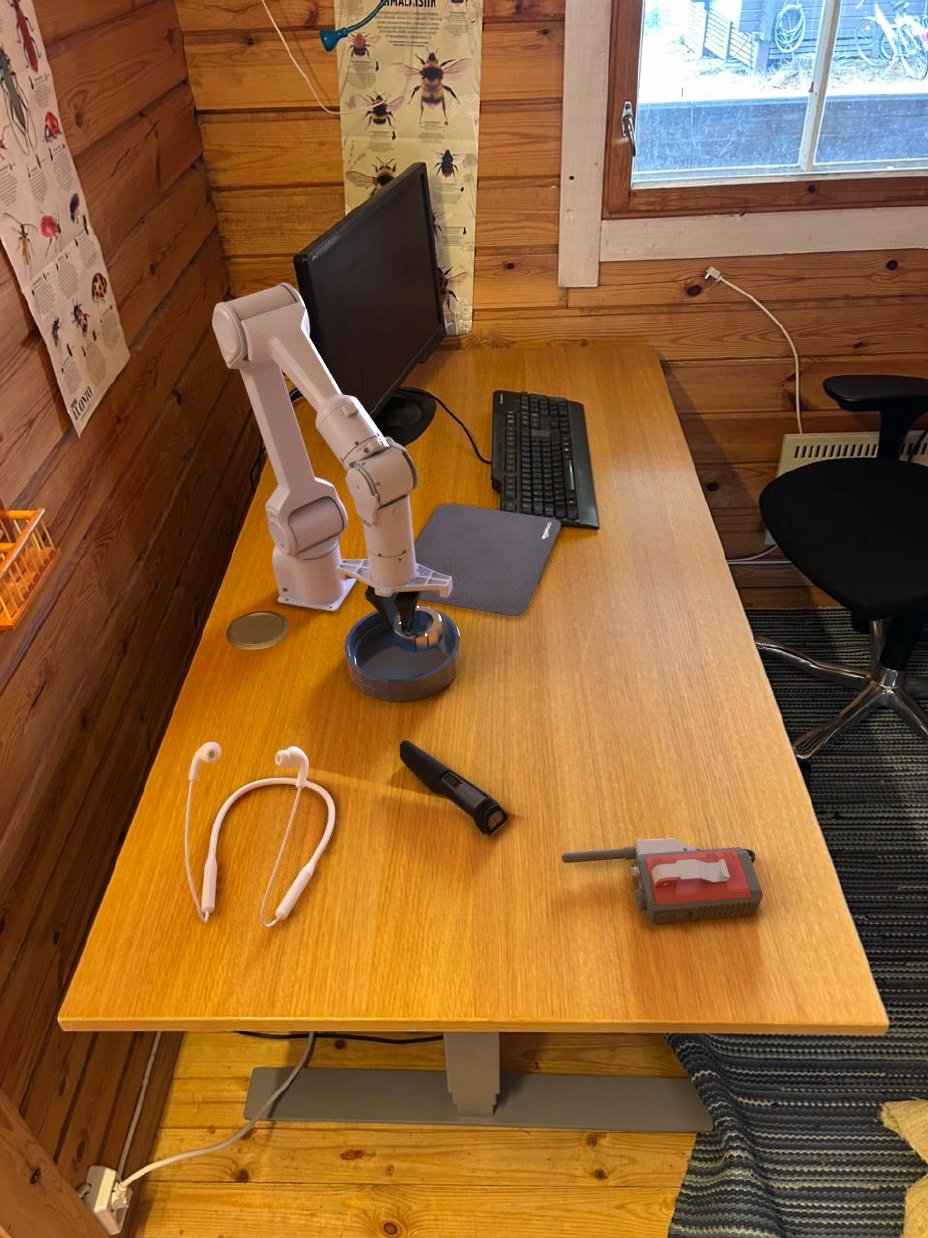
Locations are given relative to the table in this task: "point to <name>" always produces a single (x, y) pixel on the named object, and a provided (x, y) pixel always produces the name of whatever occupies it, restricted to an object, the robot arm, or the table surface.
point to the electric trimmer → (454, 788)
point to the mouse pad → (486, 556)
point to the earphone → (284, 759)
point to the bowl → (400, 661)
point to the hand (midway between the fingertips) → (400, 627)
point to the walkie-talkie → (686, 879)
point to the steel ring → (420, 639)
